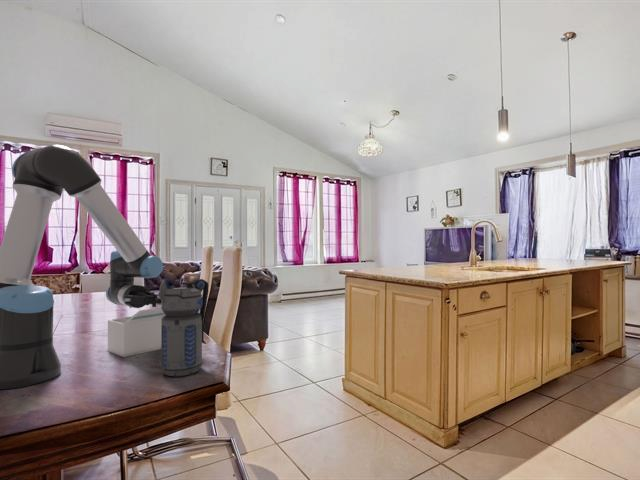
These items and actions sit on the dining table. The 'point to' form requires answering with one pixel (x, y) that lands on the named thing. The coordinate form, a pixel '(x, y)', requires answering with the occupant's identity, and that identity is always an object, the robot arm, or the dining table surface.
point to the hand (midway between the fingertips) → (169, 301)
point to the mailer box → (133, 336)
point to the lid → (146, 315)
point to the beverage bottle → (182, 327)
